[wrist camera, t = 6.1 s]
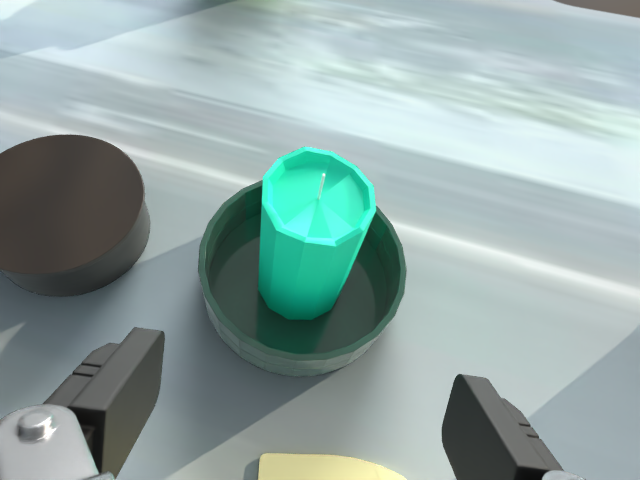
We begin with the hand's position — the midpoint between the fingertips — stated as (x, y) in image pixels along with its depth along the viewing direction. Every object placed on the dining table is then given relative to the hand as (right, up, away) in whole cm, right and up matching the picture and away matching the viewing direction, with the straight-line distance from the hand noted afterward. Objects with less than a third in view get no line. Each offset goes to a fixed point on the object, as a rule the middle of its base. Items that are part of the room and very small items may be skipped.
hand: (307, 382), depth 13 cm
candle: (-1, +1, +20) cm, 20 cm away
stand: (-17, +5, +20) cm, 26 cm away
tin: (-1, +1, +20) cm, 20 cm away
